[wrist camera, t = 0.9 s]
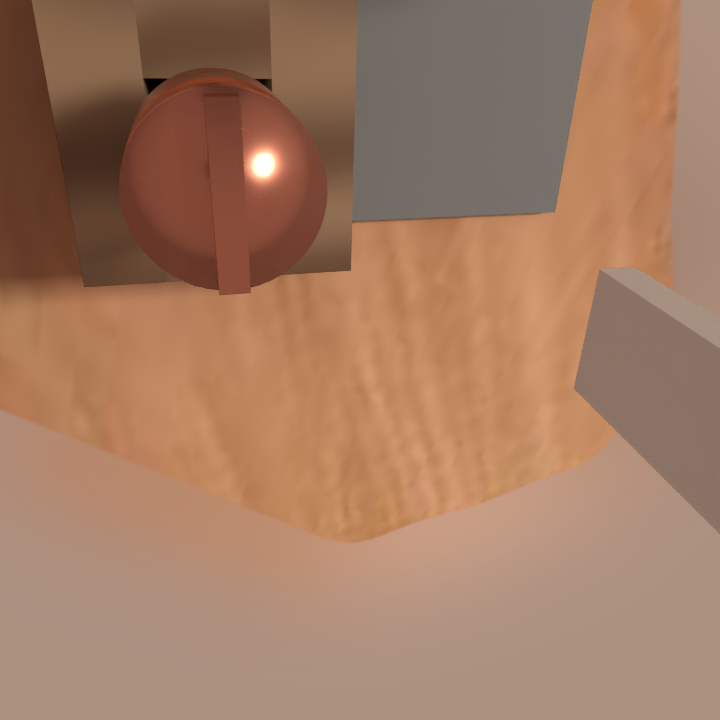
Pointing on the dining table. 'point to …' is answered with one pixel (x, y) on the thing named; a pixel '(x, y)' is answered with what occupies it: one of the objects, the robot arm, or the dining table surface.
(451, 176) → the mat
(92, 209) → the eye block
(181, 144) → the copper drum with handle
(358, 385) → the dining table surface
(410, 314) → the dining table surface
